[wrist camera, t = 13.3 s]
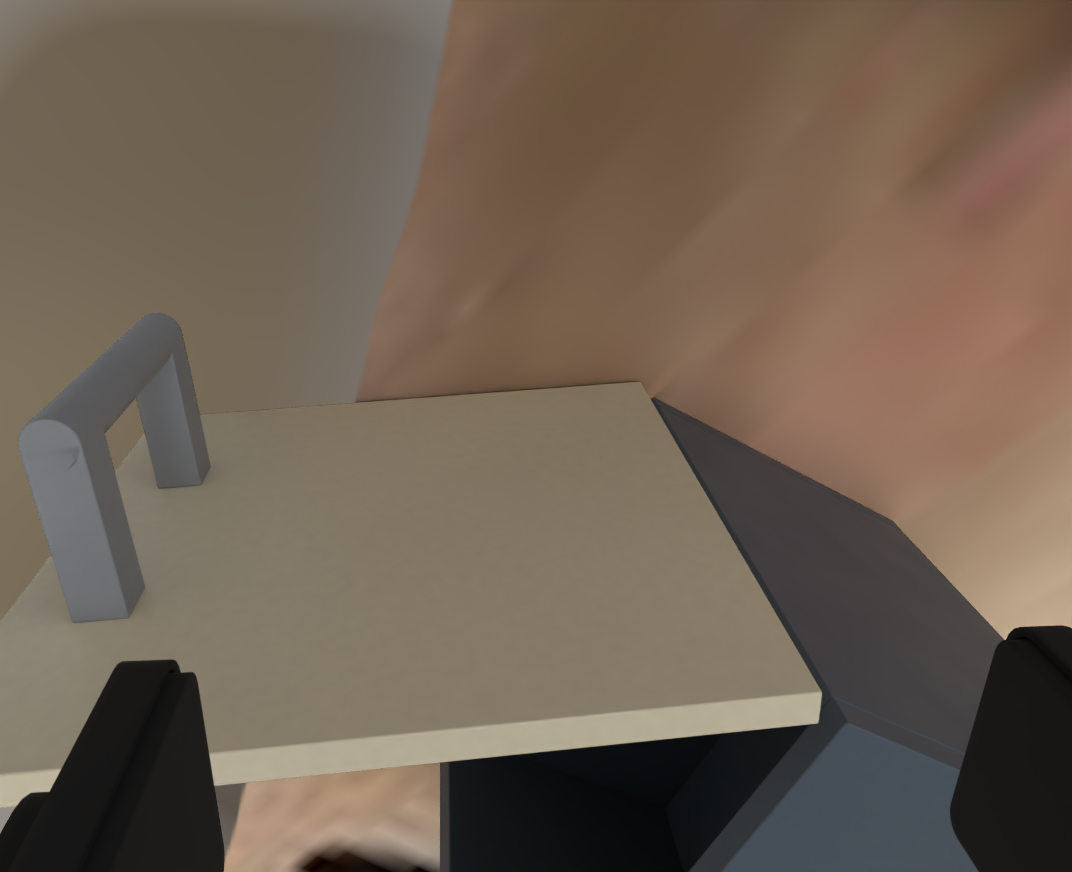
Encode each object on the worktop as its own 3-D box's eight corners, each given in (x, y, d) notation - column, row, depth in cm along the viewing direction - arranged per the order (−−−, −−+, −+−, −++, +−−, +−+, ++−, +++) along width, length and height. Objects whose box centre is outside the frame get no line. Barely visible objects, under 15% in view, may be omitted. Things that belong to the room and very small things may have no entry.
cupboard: (439, 729, 49) (438, 1210, 29) (653, 396, 42) (847, 722, 22) (665, 811, 53) (802, 1281, 33) (893, 521, 46) (1241, 890, 26)
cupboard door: (123, 278, 37) (-241, 547, 17) (641, 245, 39) (850, 457, 19) (160, 437, 40) (-114, 820, 20) (640, 401, 42) (819, 724, 22)
